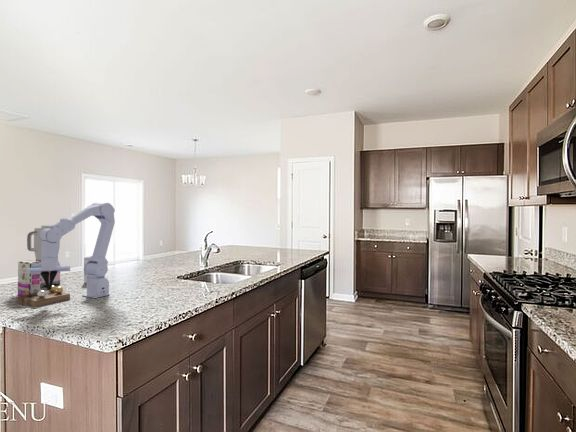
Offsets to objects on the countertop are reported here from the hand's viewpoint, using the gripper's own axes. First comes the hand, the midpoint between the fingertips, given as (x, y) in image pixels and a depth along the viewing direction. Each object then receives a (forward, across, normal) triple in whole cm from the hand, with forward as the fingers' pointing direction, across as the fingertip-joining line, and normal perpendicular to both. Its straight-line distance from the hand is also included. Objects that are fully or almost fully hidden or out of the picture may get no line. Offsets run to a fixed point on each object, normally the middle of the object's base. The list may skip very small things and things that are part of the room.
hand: (49, 289), depth 140 cm
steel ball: (+3, +3, -5) cm, 6 cm away
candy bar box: (+7, +8, -22) cm, 24 cm away
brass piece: (+3, -3, -10) cm, 10 cm away
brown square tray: (+7, +2, -10) cm, 12 cm away
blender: (+7, +5, -47) cm, 47 cm away
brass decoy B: (+3, 0, -14) cm, 14 cm away
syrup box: (+7, -17, -45) cm, 49 cm away
